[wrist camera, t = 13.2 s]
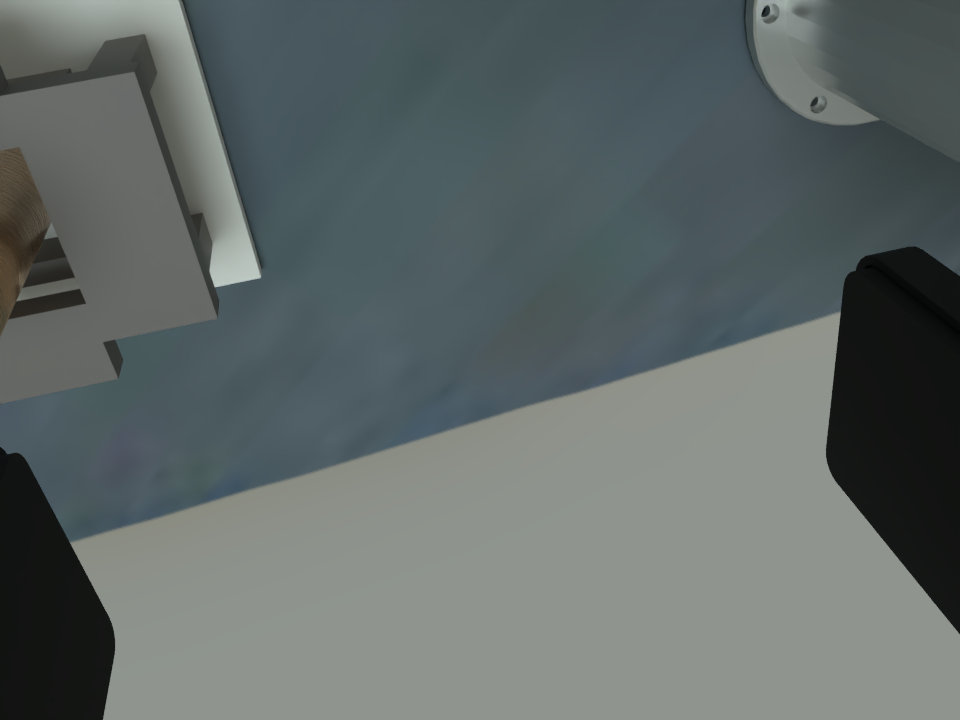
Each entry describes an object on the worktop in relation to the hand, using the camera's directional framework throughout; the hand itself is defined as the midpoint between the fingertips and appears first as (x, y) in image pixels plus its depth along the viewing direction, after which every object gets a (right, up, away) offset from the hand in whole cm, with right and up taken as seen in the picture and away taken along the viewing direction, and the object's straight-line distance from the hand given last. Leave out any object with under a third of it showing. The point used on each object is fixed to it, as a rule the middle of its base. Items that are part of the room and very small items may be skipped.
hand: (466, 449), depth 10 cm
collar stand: (-20, +9, +29) cm, 37 cm away
